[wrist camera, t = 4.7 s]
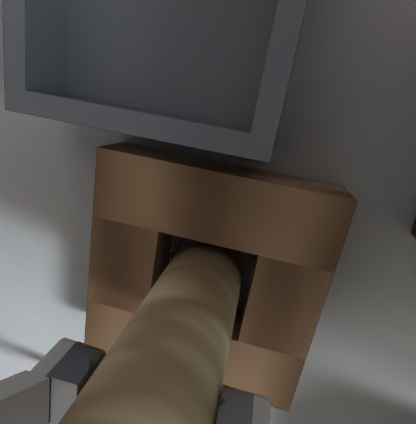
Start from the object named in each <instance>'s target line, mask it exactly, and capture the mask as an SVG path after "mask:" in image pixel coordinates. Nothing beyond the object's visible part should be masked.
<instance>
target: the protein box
mask: <svg viewBox="0 0 416 424" xmlns="http://www.w3.org/2000/svg"><path fill="white" fill-rule="evenodd" d="M411 234H412V235H413V236H414V237H415V238H416V219H415V222H414V225H413V228H412V232H411Z"/></svg>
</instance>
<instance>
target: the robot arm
mask: <svg viewBox="0 0 416 424" xmlns="http://www.w3.org/2000/svg"><path fill="white" fill-rule="evenodd" d="M105 355H106V351H105V350H103V349H100V348H97V347H93V346H90V345H87V344H84V343H81V342H77V341H74V340H71V339H68V338H63V339H61V340H59V341H58V343H57V344H56V345H55V346H54V347H53V348H52V349H51V350H50V351H49V352H48V353H47V354H46V355H45V356H44V357H43V358H42V359H41V360H40V361H39V362H38V364H37V365H36V366H35V367H34V368H33V369H32V370H31V371H27V370H25V371H23V372H20V373H18V374H15V375H13V376H11V377H8V378H6V379H3V380H1V381H0V424H58V423H59V422H60V420H61V419H62V418H63V416H64V415H65V413H66V412H67V410H68V409H69V407H70V406H71V405H72V403H73V402H74V400H75V399H76V397H77V396H78V394H79V393H80V391H81V390H82V389H83V387H84V386H85V384H86V383H87V381H88V380H89V378H90V377H91V376H92V374H93V373H94V371H95V370H96V368H97V367H98V365H99V364H100V362H101V361H102V360H103V358H104V357H105ZM215 424H270V399H269V397H266V396H263V395H259V394H256V393H252V392H248V391H245V390H241V389H238V388H234V387H230V386H227V385H223V386H222V390H221V394H220V399H219V404H218V412H217V417H216V421H215Z"/></svg>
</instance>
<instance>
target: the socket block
mask: <svg viewBox="0 0 416 424" xmlns="http://www.w3.org/2000/svg"><path fill="white" fill-rule="evenodd" d="M357 202H358V201H357V200H356V199H355V198H354V197H353V196H352V195H351V194H350V193H349V192H348V191H347V190H346V189H345V188H344V187H342V186H337V185H333V184H328V183H323V182H318V181H313V180H308V179H303V178H298V177H293V176H288V175H284V174H279V173H274V172H269V171H264V170H259V169H254V168H249V167H244V166H239V165H234V164H230V163H225V162H220V161H215V160H210V159H205V158H200V157H195V156H190V155H185V154H180V153H176V152H171V151H166V150H161V149H156V148H151V147H146V146H141V145H136V144H131V143H126V142H122V143H116V144H111V145H106V146H100V147H97V157H96V172H95V188H94V203H93V218H92V234H91V249H90V264H89V279H88V295H87V310H86V325H85V341H84V344H87V345H90V346H93V347H97V348H100V349H103V350H105V351H106V354H107V352H108V351H109V349H110V348H111V347H112V345H113V344H114V342H115V341H116V339H117V338H118V336H119V335H120V334H121V332H122V331H123V329H124V328H125V326H126V325H127V323H128V322H129V320H130V319H131V318H132V316H133V315H134V313H135V312H136V310H137V309H138V307H139V306H140V305H141V303H142V302H143V300H144V299H145V297H146V296H147V294H148V293H149V292H150V290H151V289H152V287H153V286H154V284H155V283H156V281H157V280H158V278H159V277H160V276H161V274H162V273H163V271H164V270H165V268H166V267H167V265H168V260H169V254H170V247H171V240H172V235H175V236H179V237H183V238H187V239H191V240H196V241H200V242H204V243H208V244H212V245H217V246H221V247H225V248H229V249H234V250H238V251H242V252H246V253H250V254H255V255H256V256H255V260H254V265H253V269H252V273H251V277H250V281H249V285H248V290H247V294H246V298H245V302H244V306H243V309H240V308H237V310H236V315H235V321H234V326H233V331H232V337H231V342H230V348H229V353H228V359H227V364H226V370H225V375H224V381H223V385H227V386H230V387H234V388H238V389H241V390H245V391H248V392H252V393H256V394H259V395H263V396H266V397H269V399H270V406H272V407H275V408H278V409H282V410H285V411H289V408H290V405H291V402H292V399H293V396H294V393H295V390H296V387H297V384H298V381H299V378H300V375H301V372H302V369H303V366H304V363H305V360H306V357H307V354H308V351H309V348H310V345H311V342H312V339H313V336H314V332H315V329H316V326H317V323H318V320H319V317H320V314H321V311H322V308H323V305H324V302H325V299H326V296H327V293H328V290H329V287H330V284H331V281H332V278H333V275H334V272H335V269H336V266H337V263H338V260H339V256H340V253H341V250H342V247H343V244H344V241H345V238H346V235H347V232H348V229H349V226H350V223H351V220H352V217H353V214H354V211H355V208H356V205H357Z"/></svg>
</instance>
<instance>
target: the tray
mask: <svg viewBox="0 0 416 424" xmlns="http://www.w3.org/2000/svg"><path fill="white" fill-rule="evenodd" d="M307 1H308V0H3V38H4V85H5V110H8V111H13V112H18V113H23V114H28V115H33V116H38V117H43V118H48V119H53V120H58V121H63V122H68V123H73V124H78V125H83V126H88V127H93V128H98V129H103V130H108V131H113V132H118V133H123V134H128V135H133V136H138V137H143V138H148V139H153V140H158V141H163V142H168V143H173V144H178V145H183V146H188V147H193V148H198V149H203V150H208V151H213V152H218V153H223V154H228V155H233V156H238V157H243V158H248V159H253V160H258V161H263V162H268V163H270V160H271V156H272V151H273V147H274V143H275V138H276V134H277V130H278V125H279V121H280V117H281V112H282V108H283V104H284V100H285V95H286V91H287V87H288V82H289V78H290V74H291V69H292V65H293V61H294V57H295V52H296V48H297V44H298V39H299V35H300V31H301V26H302V22H303V18H304V13H305V9H306V5H307Z"/></svg>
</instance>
